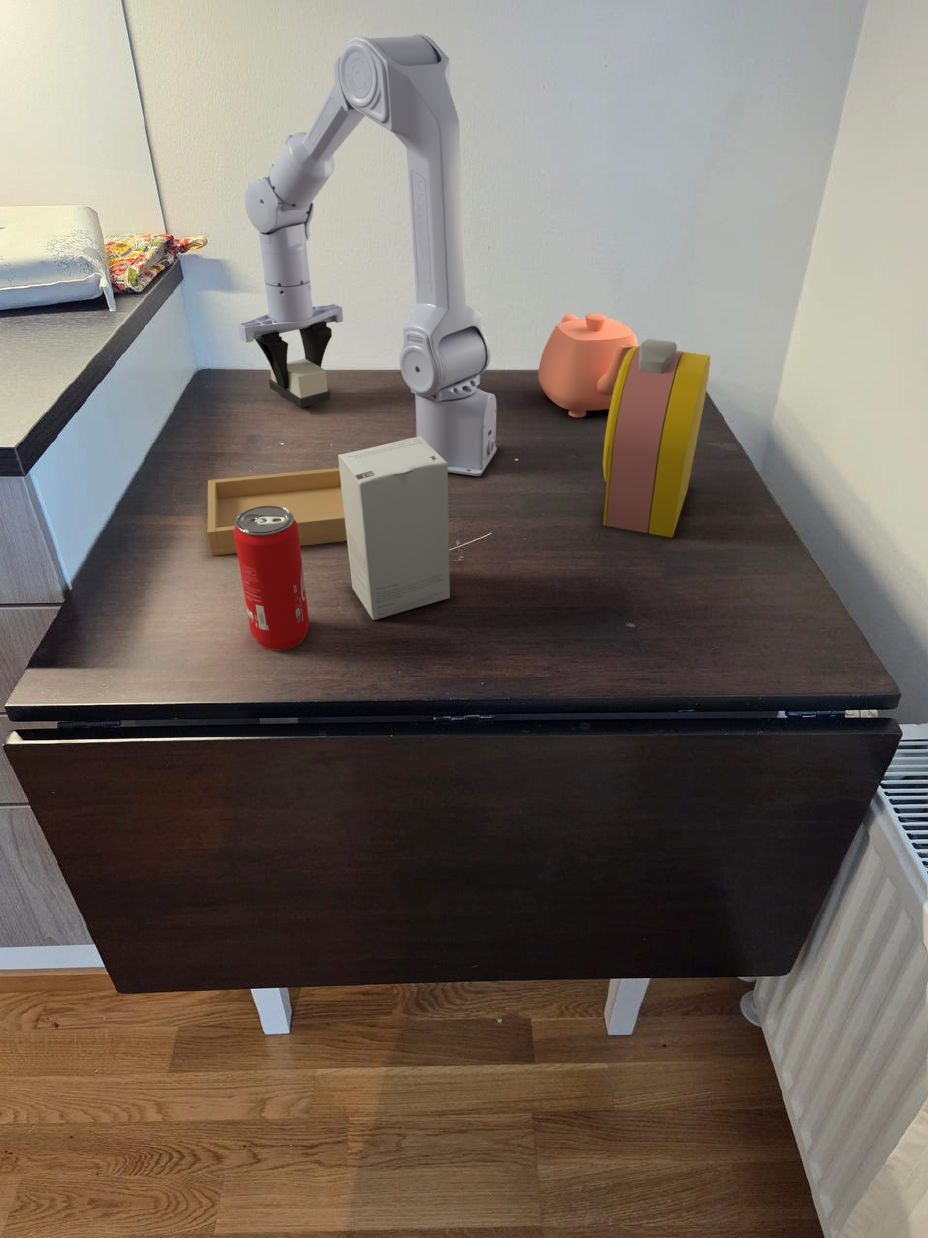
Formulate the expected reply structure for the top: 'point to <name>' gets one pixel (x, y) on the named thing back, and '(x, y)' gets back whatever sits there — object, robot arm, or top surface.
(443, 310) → the robot arm
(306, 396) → the two-tone beige block
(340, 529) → the tray
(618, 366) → the teapot
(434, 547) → the cosmetic box
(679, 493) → the alarm clock
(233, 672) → the top surface
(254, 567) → the beverage can
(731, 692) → the top surface
